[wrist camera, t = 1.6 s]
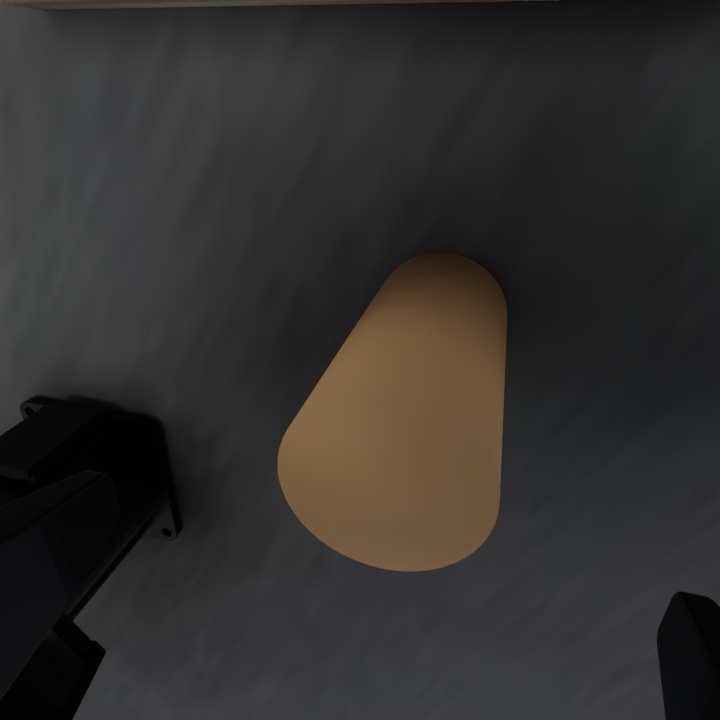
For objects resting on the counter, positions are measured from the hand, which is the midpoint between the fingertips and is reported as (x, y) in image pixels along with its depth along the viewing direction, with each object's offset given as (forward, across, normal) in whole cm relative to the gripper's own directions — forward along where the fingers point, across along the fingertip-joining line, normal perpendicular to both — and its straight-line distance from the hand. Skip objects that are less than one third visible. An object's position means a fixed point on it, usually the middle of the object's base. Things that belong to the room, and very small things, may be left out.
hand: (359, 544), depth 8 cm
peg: (+9, 0, 0) cm, 9 cm away
